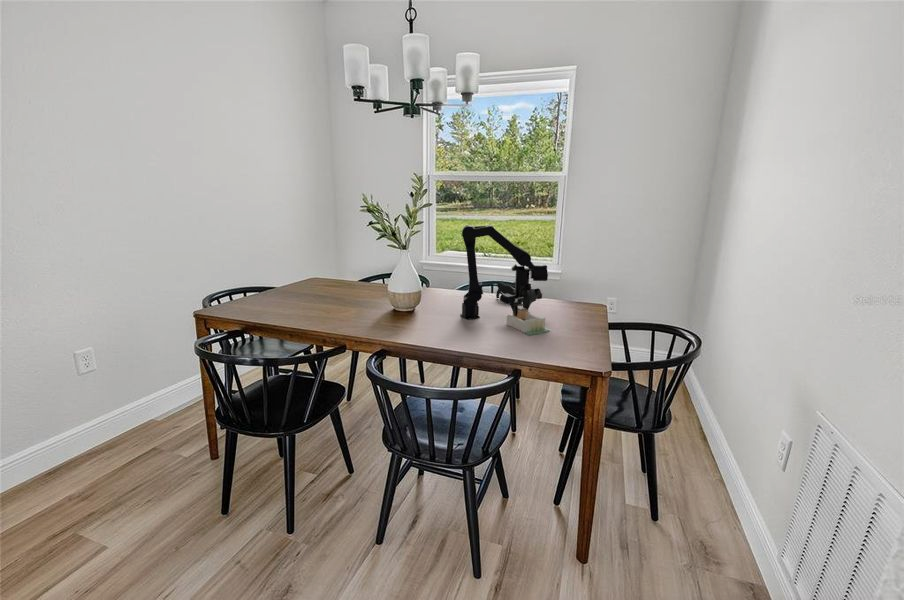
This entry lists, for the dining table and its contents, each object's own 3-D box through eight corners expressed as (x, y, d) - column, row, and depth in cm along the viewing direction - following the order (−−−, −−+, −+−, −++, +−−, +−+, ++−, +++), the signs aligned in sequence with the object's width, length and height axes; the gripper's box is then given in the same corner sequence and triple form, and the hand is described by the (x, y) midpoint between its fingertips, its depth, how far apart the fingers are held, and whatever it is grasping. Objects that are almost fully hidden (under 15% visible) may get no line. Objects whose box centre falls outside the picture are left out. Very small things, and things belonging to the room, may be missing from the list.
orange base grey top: (519, 320, 180) (520, 309, 179) (512, 316, 185) (513, 306, 183) (527, 318, 182) (528, 308, 181) (520, 315, 187) (521, 305, 185)
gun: (515, 314, 206) (525, 298, 201) (491, 295, 212) (499, 279, 207) (518, 313, 208) (527, 297, 203) (494, 294, 214) (502, 278, 209)
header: (528, 335, 162) (528, 323, 161) (505, 324, 175) (506, 312, 173) (551, 331, 167) (552, 318, 166) (527, 320, 180) (528, 308, 179)
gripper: (515, 287, 168) (513, 324, 172) (551, 282, 176) (549, 317, 181) (499, 281, 177) (498, 316, 182) (534, 277, 186) (532, 310, 190)
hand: (520, 315), depth 183 cm, fingers closed on orange base grey top, 4 cm apart
